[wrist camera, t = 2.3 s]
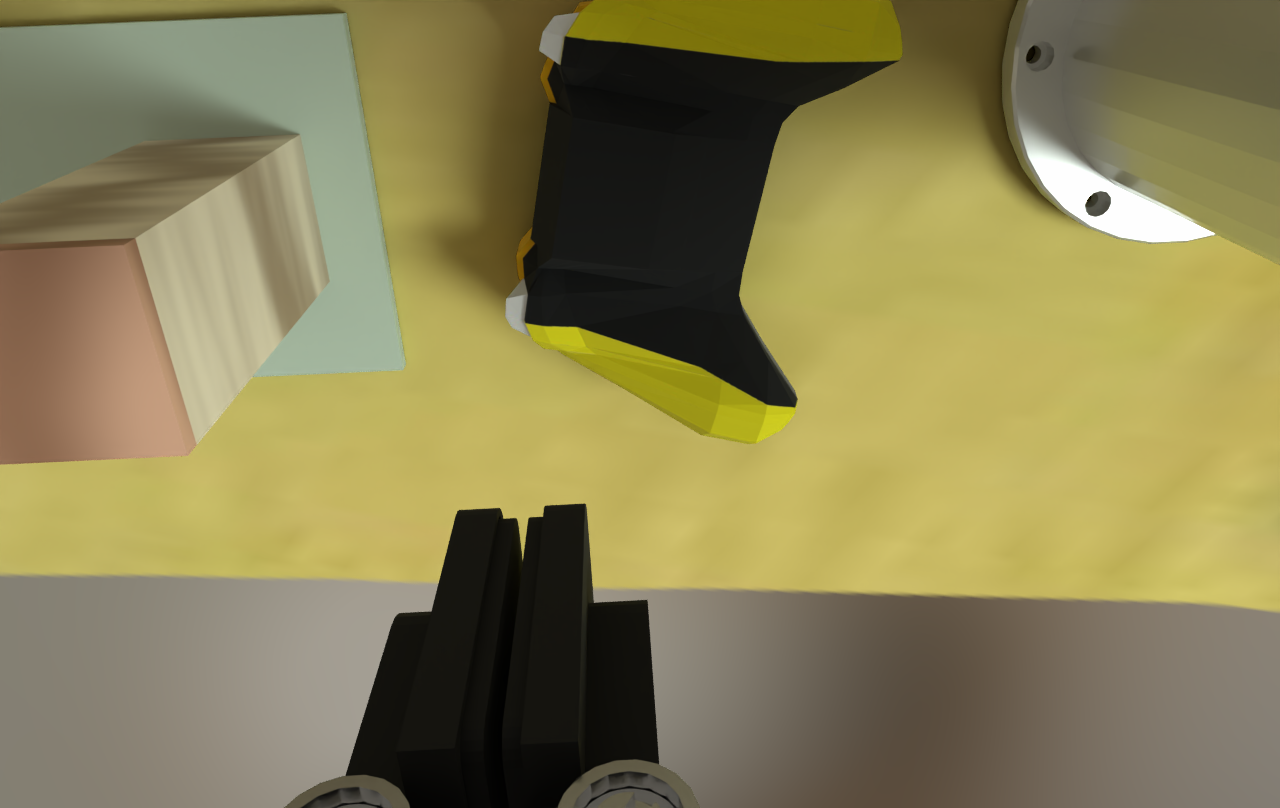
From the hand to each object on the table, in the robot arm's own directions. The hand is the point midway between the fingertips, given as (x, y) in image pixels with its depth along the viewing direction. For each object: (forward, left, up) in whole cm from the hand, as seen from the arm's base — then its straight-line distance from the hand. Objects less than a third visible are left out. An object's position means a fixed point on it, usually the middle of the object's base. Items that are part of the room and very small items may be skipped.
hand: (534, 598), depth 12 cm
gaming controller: (-3, 0, -22) cm, 22 cm away
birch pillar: (+11, 0, -21) cm, 24 cm away
